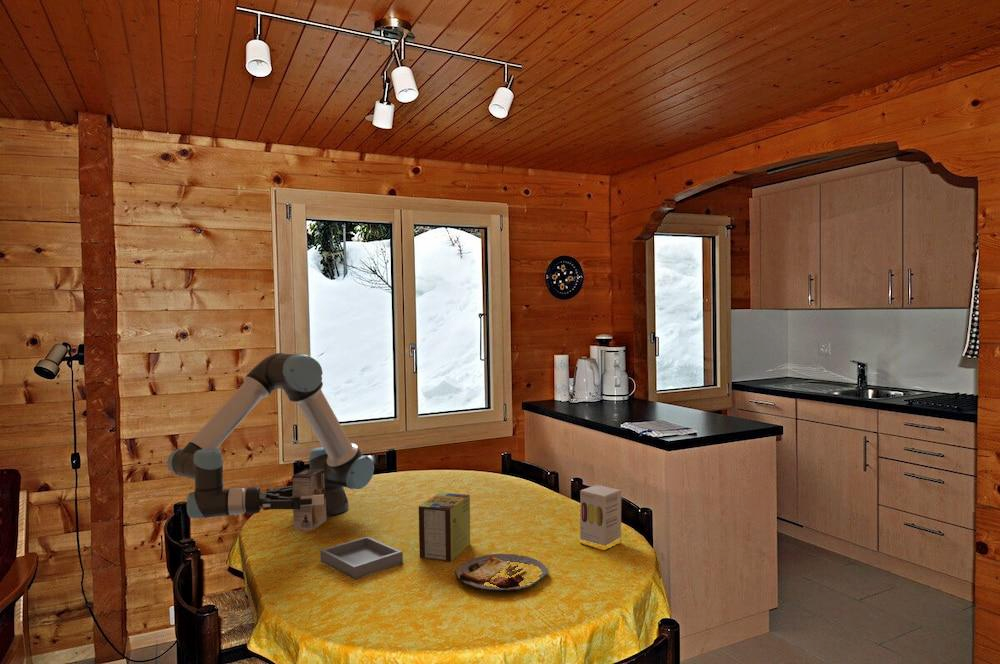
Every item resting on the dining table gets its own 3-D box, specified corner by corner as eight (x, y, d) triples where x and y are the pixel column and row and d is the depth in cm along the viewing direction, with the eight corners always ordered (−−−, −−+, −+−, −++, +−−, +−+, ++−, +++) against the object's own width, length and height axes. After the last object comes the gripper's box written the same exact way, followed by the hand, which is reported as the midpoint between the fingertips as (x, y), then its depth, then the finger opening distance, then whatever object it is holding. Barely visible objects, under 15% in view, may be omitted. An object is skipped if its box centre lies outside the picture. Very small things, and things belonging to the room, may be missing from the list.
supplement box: (579, 544, 204) (578, 490, 204) (596, 536, 211) (596, 483, 210) (605, 551, 198) (605, 495, 197) (622, 543, 205) (622, 489, 204)
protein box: (471, 544, 206) (470, 494, 205) (451, 562, 191) (450, 508, 190) (440, 540, 209) (439, 491, 208) (418, 558, 194) (417, 505, 194)
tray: (367, 547, 203) (367, 536, 203) (402, 563, 190) (402, 551, 190) (320, 562, 192) (320, 550, 192) (354, 580, 179) (354, 567, 179)
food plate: (514, 604, 163) (514, 590, 163) (438, 585, 176) (438, 571, 176) (560, 572, 184) (560, 559, 184) (490, 557, 197) (490, 545, 197)
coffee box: (307, 519, 204) (306, 467, 204) (327, 520, 203) (325, 468, 202) (292, 529, 195) (291, 475, 195) (313, 530, 194) (311, 476, 193)
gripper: (250, 502, 206) (324, 495, 211) (241, 526, 183) (324, 518, 189) (249, 478, 205) (323, 472, 211) (240, 499, 183) (323, 492, 189)
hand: (323, 494), depth 200 cm, fingers closed on coffee box, 10 cm apart
